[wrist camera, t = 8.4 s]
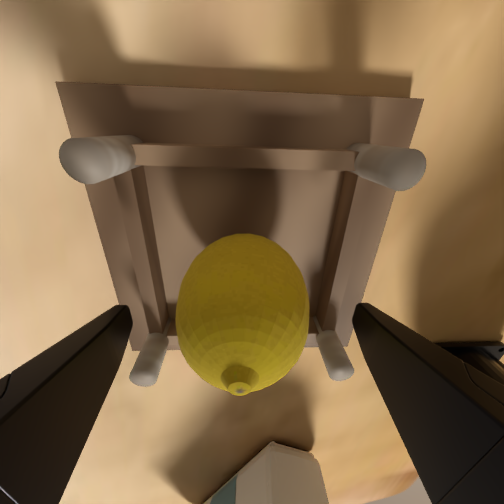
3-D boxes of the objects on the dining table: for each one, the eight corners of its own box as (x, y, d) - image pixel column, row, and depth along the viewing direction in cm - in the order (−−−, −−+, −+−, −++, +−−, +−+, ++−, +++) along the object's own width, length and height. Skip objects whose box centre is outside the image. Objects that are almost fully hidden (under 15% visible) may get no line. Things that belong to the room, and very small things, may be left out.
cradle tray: (409, 101, 12) (515, 83, 7) (342, 336, 19) (374, 399, 15) (70, 85, 11) (-49, 54, 6) (137, 339, 18) (104, 408, 14)
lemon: (214, 298, 15) (182, 445, 8) (185, 221, 13) (105, 340, 6) (298, 284, 15) (339, 429, 8) (286, 200, 12) (330, 305, 5)
